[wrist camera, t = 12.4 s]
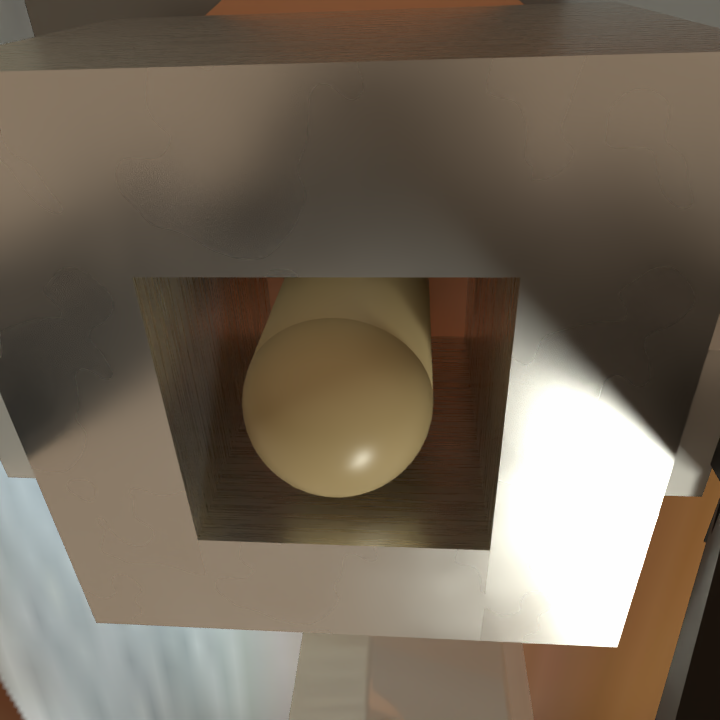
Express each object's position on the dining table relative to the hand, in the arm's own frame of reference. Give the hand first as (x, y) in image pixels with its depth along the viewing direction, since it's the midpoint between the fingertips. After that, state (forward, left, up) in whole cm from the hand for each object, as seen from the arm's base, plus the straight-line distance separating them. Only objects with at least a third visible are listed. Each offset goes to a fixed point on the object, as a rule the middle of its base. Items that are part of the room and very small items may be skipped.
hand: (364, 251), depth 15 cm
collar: (0, 0, 0) cm, 0 cm away
